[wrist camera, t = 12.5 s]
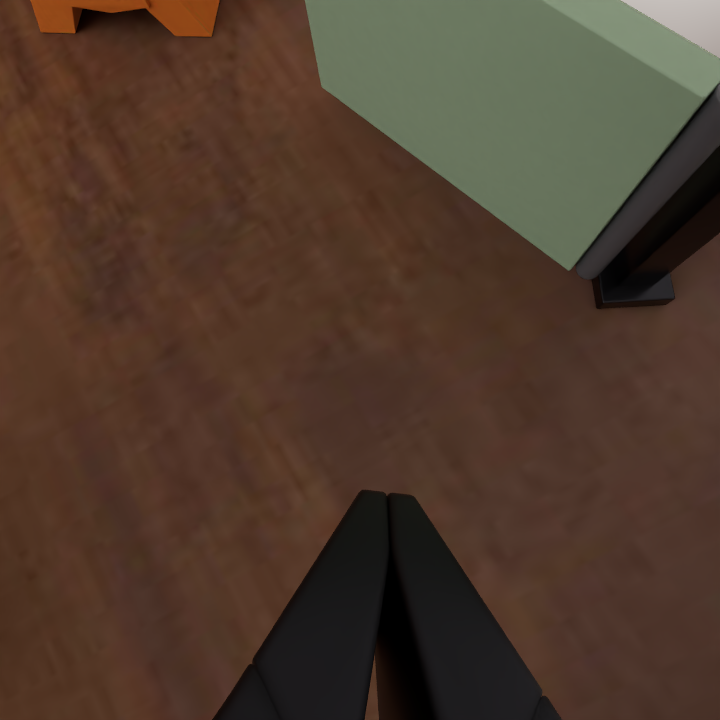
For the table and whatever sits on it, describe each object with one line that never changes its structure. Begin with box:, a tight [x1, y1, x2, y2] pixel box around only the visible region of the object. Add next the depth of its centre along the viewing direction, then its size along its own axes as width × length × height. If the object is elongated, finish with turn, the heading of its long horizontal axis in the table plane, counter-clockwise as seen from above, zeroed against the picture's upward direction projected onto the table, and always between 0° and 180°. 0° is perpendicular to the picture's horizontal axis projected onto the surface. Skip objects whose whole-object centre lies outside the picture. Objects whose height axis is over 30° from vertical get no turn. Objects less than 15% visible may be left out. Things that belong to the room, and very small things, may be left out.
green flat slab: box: [305, 0, 720, 279], centre depth 19 cm, size 16×3×10 cm, turn 47°
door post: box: [592, 145, 720, 309], centre depth 18 cm, size 3×3×9 cm
